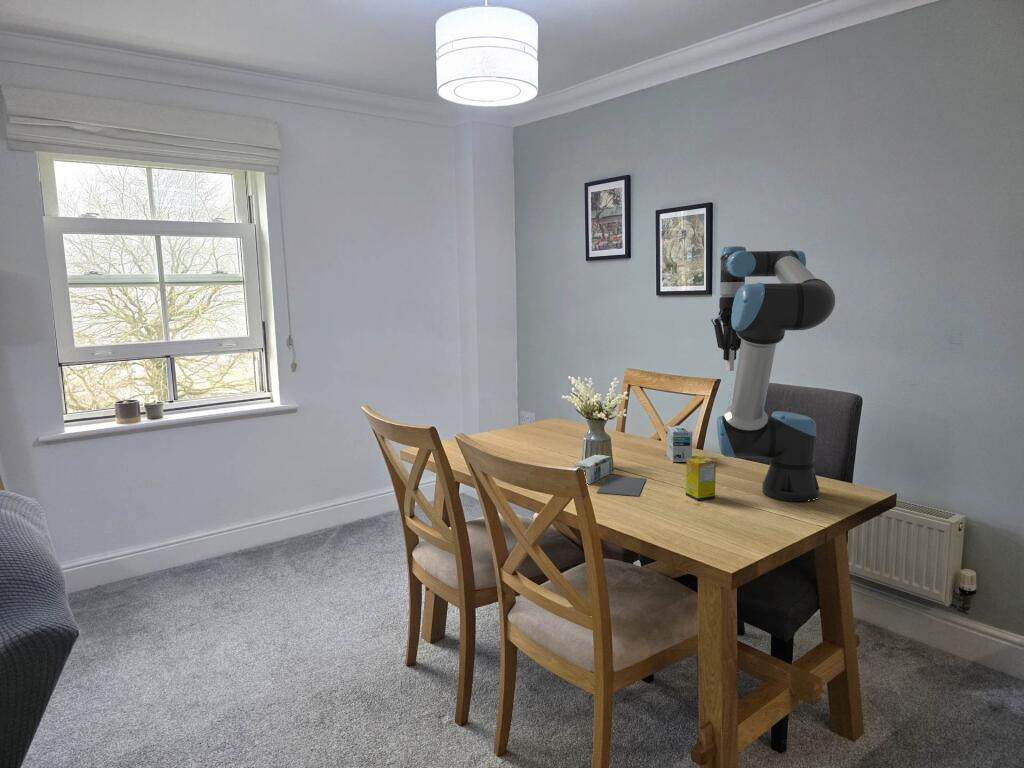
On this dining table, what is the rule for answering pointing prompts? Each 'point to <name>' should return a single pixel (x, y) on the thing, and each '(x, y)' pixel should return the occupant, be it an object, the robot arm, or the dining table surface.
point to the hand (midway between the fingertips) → (729, 370)
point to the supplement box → (700, 478)
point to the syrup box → (595, 467)
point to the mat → (622, 486)
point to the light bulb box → (679, 443)
